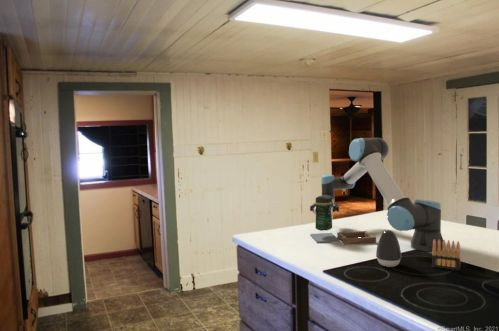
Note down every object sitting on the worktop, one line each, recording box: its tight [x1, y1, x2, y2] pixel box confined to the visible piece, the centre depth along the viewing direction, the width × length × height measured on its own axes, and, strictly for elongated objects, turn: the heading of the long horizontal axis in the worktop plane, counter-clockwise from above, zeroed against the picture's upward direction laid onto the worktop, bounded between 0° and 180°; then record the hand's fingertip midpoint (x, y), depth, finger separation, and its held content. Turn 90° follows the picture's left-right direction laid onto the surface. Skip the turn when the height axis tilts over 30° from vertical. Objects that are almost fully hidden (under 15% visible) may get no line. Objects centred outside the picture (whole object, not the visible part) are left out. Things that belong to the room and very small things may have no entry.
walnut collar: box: [336, 230, 377, 246], centre depth 217 cm, size 14×16×3 cm
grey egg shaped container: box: [375, 229, 402, 268], centre depth 176 cm, size 10×10×15 cm
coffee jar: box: [314, 194, 333, 232], centre depth 222 cm, size 10×8×19 cm
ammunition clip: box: [431, 239, 462, 269], centre depth 169 cm, size 11×2×12 cm, turn 59°
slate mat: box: [310, 232, 341, 244], centre depth 223 cm, size 16×12×1 cm
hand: (323, 211), depth 217 cm, fingers closed on coffee jar, 8 cm apart
